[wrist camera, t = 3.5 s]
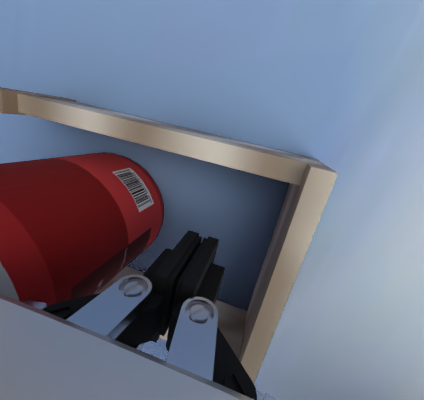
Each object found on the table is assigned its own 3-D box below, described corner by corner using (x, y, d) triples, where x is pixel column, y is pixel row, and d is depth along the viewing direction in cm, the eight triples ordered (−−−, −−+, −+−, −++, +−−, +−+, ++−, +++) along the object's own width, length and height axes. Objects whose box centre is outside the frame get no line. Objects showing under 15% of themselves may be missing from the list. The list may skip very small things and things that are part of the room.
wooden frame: (317, 157, 13) (339, 170, 9) (256, 326, 18) (248, 396, 13) (62, 97, 17) (-22, 83, 12) (63, 252, 21) (3, 286, 16)
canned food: (81, 137, 17) (-207, 146, 7) (178, 171, 16) (-1, 243, 6) (74, 226, 20) (-142, 327, 10) (157, 261, 18) (9, 422, 8)
